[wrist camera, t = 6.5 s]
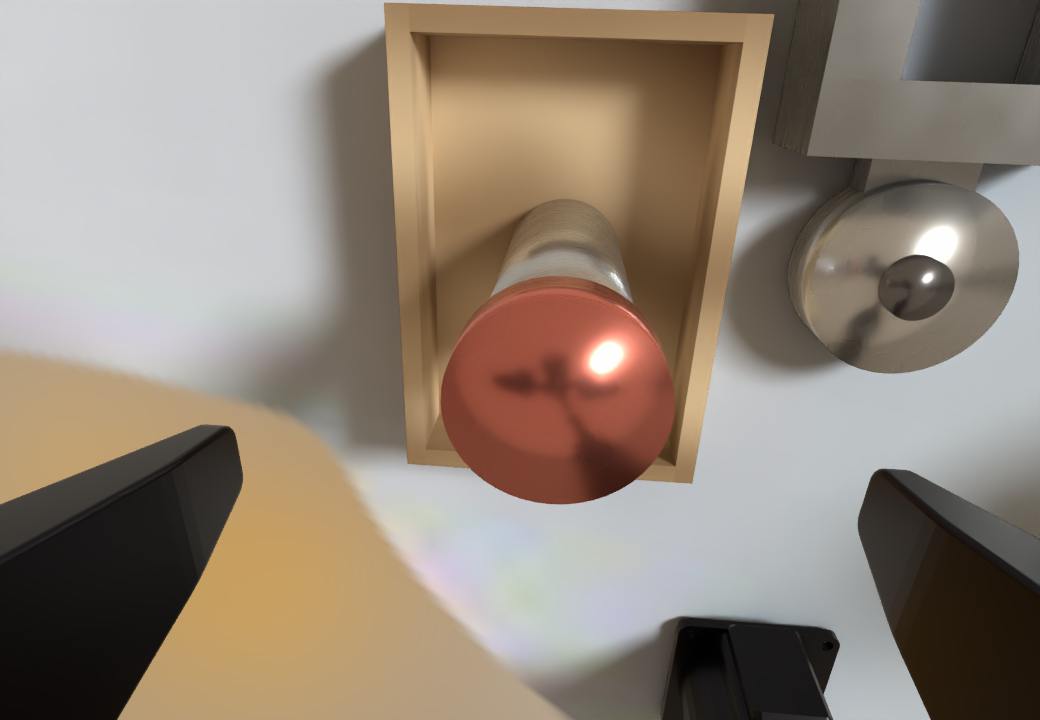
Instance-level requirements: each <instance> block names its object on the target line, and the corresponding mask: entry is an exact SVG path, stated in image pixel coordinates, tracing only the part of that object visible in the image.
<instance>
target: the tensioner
mask: <svg viewBox="0 0 1040 720" xmlns="http://www.w3.org/2000/svg"><path fill="white" fill-rule="evenodd" d="M920 4H921V0H800V1H799V6H798V12H797V17H796V22H795V27H794V33H793V38H792V43H791V49H790V54H789V59H788V65H787V70H786V75H785V80H784V86H783V91H782V96H781V102H780V107H779V112H778V118H777V123H776V128H775V133H774V139H773V143H774V144H777V145H779V146H782V147H785V148H787V149H790V150H793V151H795V152H798V153H800V154H803V155H806V156H821V157H846V158H857V161H856V165H855V169H854V173H853V177H852V181H851V185H850V187H848V188H846V189H844V190H843V191H841V192H840V193H838V194H837V195H835V196H834V197H832V198H831V199H830V200H828V201H827V202H826V203H825V204H824V205H823V206H821V207H820V208H819V209H818V211H817V212H816V213H815V214H814V215H813V216H812V217H811V218H810V220H809V221H808V222H807V224H806V225H805V226H804V228H803V229H802V231H801V233H800V235H799V236H798V238H797V240H796V243H795V245H794V247H793V250H792V253H791V257H790V261H789V267H788V288H789V294H790V298H791V301H792V304H793V306H794V308H795V310H796V312H797V314H798V315H799V317H800V318H801V320H802V321H803V322H804V323H805V324H806V325H807V326H808V328H809V329H810V330H811V331H812V332H813V333H814V334H815V335H816V336H817V337H818V339H819V340H820V341H821V342H822V343H823V344H824V345H825V346H826V347H827V348H828V349H829V350H830V352H831V353H833V354H834V355H835V356H837V357H838V358H839V359H841V360H842V361H844V362H846V363H848V364H849V365H852V366H854V367H857V368H859V369H863V370H867V371H871V372H878V373H905V372H912V371H917V370H921V369H925V368H928V367H931V366H934V365H937V364H939V363H941V362H944V361H946V360H948V359H950V358H952V357H954V356H955V355H957V354H959V353H961V352H962V351H964V350H965V349H966V348H968V347H969V346H971V345H972V344H973V343H974V342H976V341H977V340H978V339H979V338H980V337H981V336H983V335H984V334H985V332H986V331H987V330H988V329H989V328H990V327H991V326H992V325H993V324H994V322H995V321H996V320H997V319H998V317H999V316H1000V315H1001V313H1002V311H1003V310H1004V308H1005V306H1006V305H1007V303H1008V301H1009V299H1010V296H1011V294H1012V292H1013V289H1014V286H1015V283H1016V279H1017V275H1018V268H1019V250H1018V243H1017V239H1016V236H1015V233H1014V230H1013V228H1012V226H1011V224H1010V222H1009V220H1008V219H1007V217H1006V216H1005V215H1004V214H1003V212H1002V211H1001V210H1000V209H999V208H998V207H997V206H996V205H995V204H994V203H992V202H991V201H990V200H988V199H987V198H985V197H983V196H982V195H980V194H978V193H975V190H976V186H977V183H978V180H979V177H980V174H981V171H982V168H983V165H984V163H991V164H1015V165H1039V166H1040V5H1039V8H1038V11H1037V14H1036V18H1035V21H1034V24H1033V27H1032V30H1031V33H1030V36H1029V39H1028V42H1027V45H1026V48H1025V51H1024V54H1023V57H1022V60H1021V63H1020V66H1019V69H1018V72H1017V75H1016V78H1015V82H1014V84H1005V83H976V82H947V81H918V80H901V77H902V73H903V69H904V66H905V62H906V58H907V54H908V50H909V46H910V42H911V38H912V35H913V31H914V27H915V23H916V19H917V15H918V11H919V8H920Z"/></svg>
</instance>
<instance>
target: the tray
mask: <svg viewBox="0 0 1040 720" xmlns="http://www.w3.org/2000/svg"><path fill="white" fill-rule="evenodd" d="M384 12H385V32H386V51H387V71H388V90H389V110H390V129H391V149H392V168H393V188H394V207H395V227H396V246H397V266H398V285H399V305H400V324H401V344H402V363H403V382H404V402H405V421H406V441H407V460H408V464H418V465H432V466H447V467H461V468H469V467H468V466H467V465H466V464H465V462H464V461H463V460H462V459H461V457H460V456H459V455H458V453H457V452H456V450H455V448H454V447H453V445H452V443H451V441H450V439H449V437H448V434H447V432H446V429H445V426H444V422H443V418H442V413H441V403H440V400H441V386H442V381H443V376H444V373H445V370H446V368H447V365H448V362H449V360H450V357H451V355H452V353H453V350H454V348H455V345H456V343H457V341H458V338H459V336H460V334H461V332H462V330H463V328H464V326H465V325H466V323H467V322H468V320H469V319H470V318H471V316H472V315H473V313H474V312H475V311H476V310H477V309H478V308H479V307H480V306H481V305H482V304H483V303H484V302H486V301H487V300H488V299H489V298H490V297H491V295H492V292H493V289H494V286H495V284H496V281H497V278H498V275H499V272H500V270H501V267H502V264H503V261H504V258H505V256H506V253H507V250H508V247H509V245H510V242H511V239H512V236H513V234H514V231H515V229H516V227H517V225H518V224H519V222H520V221H521V219H522V218H523V217H524V216H525V215H526V214H527V213H528V212H529V211H531V210H532V209H533V208H535V207H537V206H538V205H540V204H542V203H545V202H548V201H551V200H556V199H574V200H578V201H582V202H584V203H587V204H589V205H591V206H593V207H595V208H596V209H597V210H599V211H600V212H601V213H602V214H603V215H604V216H605V217H606V218H607V219H608V221H609V222H610V224H611V225H612V227H613V229H614V231H615V234H616V237H617V241H618V245H619V249H620V253H621V257H622V261H623V265H624V268H625V272H626V276H627V280H628V284H629V288H630V292H631V296H632V300H633V304H634V305H635V306H636V307H637V308H638V309H639V310H640V311H641V312H642V313H643V314H644V316H645V317H646V318H647V320H648V321H649V322H650V324H651V325H652V327H653V329H654V331H655V332H656V334H657V336H658V339H659V341H660V344H661V346H662V350H663V353H664V356H665V359H666V362H667V366H668V369H669V372H670V375H671V379H672V383H673V388H674V397H675V409H674V419H673V423H672V427H671V431H670V434H669V436H668V439H667V441H666V443H665V445H664V447H663V449H662V450H661V452H660V454H659V455H658V457H657V458H656V459H655V461H654V462H653V463H652V465H651V466H650V467H649V468H648V469H647V470H646V471H645V472H644V473H643V474H642V475H640V476H639V477H638V478H637V479H635V480H648V481H663V482H677V483H691V484H692V481H693V476H694V470H695V464H696V459H697V453H698V447H699V441H700V436H701V430H702V424H703V419H704V413H705V407H706V402H707V396H708V390H709V385H710V379H711V373H712V367H713V362H714V356H715V350H716V345H717V339H718V333H719V328H720V322H721V316H722V311H723V305H724V299H725V293H726V288H727V282H728V276H729V271H730V265H731V259H732V254H733V248H734V242H735V237H736V231H737V225H738V219H739V214H740V208H741V202H742V197H743V191H744V185H745V180H746V174H747V168H748V162H749V157H750V151H751V145H752V140H753V134H754V128H755V123H756V117H757V111H758V106H759V100H760V94H761V88H762V83H763V77H764V71H765V66H766V60H767V54H768V49H769V43H770V37H771V32H772V26H773V20H774V14H751V13H717V12H683V11H649V10H615V9H581V8H547V7H513V6H479V5H445V4H411V3H384Z"/></svg>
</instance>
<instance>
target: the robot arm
mask: <svg viewBox="0 0 1040 720" xmlns="http://www.w3.org/2000/svg"><path fill="white" fill-rule="evenodd" d="M242 482H243V472H242V466H241V462H240V456H239V451H238V445H237V440H236V436H235V433H234V431H233V430H232V429H231V428H230V427H228V426H219V425H200V426H197V427H194V428H192V429H189V430H187V431H184V432H182V433H179V434H177V435H174V436H172V437H169V438H167V439H164V440H161V441H159V442H157V443H154V444H152V445H149V446H146V447H144V448H141V449H139V450H136V451H134V452H131V453H129V454H126V455H124V456H121V457H119V458H116V459H114V460H111V461H109V462H106V463H104V464H101V465H99V466H96V467H94V468H91V469H89V470H86V471H83V472H81V473H78V474H76V475H73V476H71V477H68V478H66V479H63V480H61V481H58V482H56V483H53V484H51V485H48V486H46V487H43V488H41V489H38V490H36V491H33V492H31V493H28V494H26V495H23V496H21V497H18V498H15V499H13V500H10V501H8V502H5V503H3V504H0V720H117V719H118V717H119V716H120V714H121V712H122V711H123V709H124V707H125V706H126V704H127V702H128V701H129V699H130V697H131V695H132V694H133V692H134V690H135V689H136V687H137V685H138V684H139V682H140V680H141V679H142V677H143V675H144V673H145V672H146V670H147V669H148V667H149V665H150V663H151V662H152V660H153V658H154V657H155V655H156V653H157V652H158V650H159V648H160V647H161V645H162V643H163V641H164V640H165V638H166V636H167V635H168V633H169V631H170V629H171V628H172V626H173V624H174V623H175V621H176V619H177V618H178V616H179V614H180V613H181V611H182V609H183V608H184V606H185V604H186V603H187V601H188V599H189V598H190V596H191V594H192V592H193V591H194V589H195V587H196V585H197V583H198V582H199V580H200V578H201V576H202V574H203V571H204V570H205V568H206V566H207V563H208V561H209V559H210V557H211V555H212V552H213V550H214V548H215V546H216V544H217V541H218V539H219V537H220V535H221V533H222V531H223V528H224V526H225V524H226V522H227V519H228V517H229V515H230V513H231V511H232V509H233V506H234V504H235V502H236V500H237V498H238V495H239V493H240V491H241V487H242ZM858 532H859V536H860V539H861V542H862V545H863V548H864V551H865V554H866V557H867V560H868V563H869V567H870V570H871V573H872V576H873V579H874V582H875V585H876V588H877V591H878V594H879V597H880V600H881V603H882V606H883V609H884V612H885V615H886V618H887V621H888V623H889V626H890V629H891V632H892V634H893V637H894V639H895V641H896V644H897V646H898V648H899V651H900V653H901V655H902V658H903V660H904V662H905V664H906V666H907V668H908V671H909V673H910V675H911V677H912V679H913V682H914V684H915V686H916V688H917V690H918V693H919V695H920V697H921V699H922V701H923V704H924V706H925V708H926V710H927V712H928V714H929V717H930V719H931V720H1040V539H1038V538H1036V537H1034V536H1032V535H1030V534H1028V533H1027V532H1025V531H1023V530H1021V529H1019V528H1017V527H1015V526H1013V525H1011V524H1010V523H1008V522H1006V521H1004V520H1002V519H1000V518H998V517H996V516H994V515H993V514H991V513H989V512H987V511H985V510H983V509H981V508H979V507H977V506H976V505H974V504H972V503H970V502H968V501H966V500H964V499H962V498H961V497H959V496H957V495H955V494H953V493H951V492H949V491H947V490H945V489H944V488H942V487H940V486H938V485H936V484H934V483H932V482H930V481H928V480H927V479H925V478H923V477H921V476H919V475H917V474H915V473H913V472H911V471H907V470H896V469H879V470H877V471H875V472H874V474H873V475H872V477H871V479H870V482H869V485H868V488H867V491H866V495H865V498H864V501H863V504H862V507H861V510H860V513H859V517H858ZM689 630H692V631H690V632H687V631H689ZM839 647H840V643H839V641H838V639H837V637H836V635H835V633H834V632H833V631H831V630H827V629H816V628H804V627H791V626H779V625H767V624H754V623H742V622H730V621H717V620H705V619H693V618H688V619H684V620H681V621H680V622H679V623H678V625H677V628H676V633H675V639H674V644H673V650H672V655H671V661H670V666H669V671H668V677H667V682H666V688H665V693H664V698H663V704H662V709H661V720H833V718H832V715H831V713H830V710H829V708H828V705H827V703H826V700H825V698H824V692H825V689H826V686H827V683H828V680H829V677H830V674H831V671H832V668H833V665H834V662H835V659H836V656H837V653H838V650H839Z"/></svg>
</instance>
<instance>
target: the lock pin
mask: <svg viewBox="0 0 1040 720" xmlns="http://www.w3.org/2000/svg"><path fill="white" fill-rule="evenodd" d="M440 403H441V413H442V418H443V422H444V426H445V429H446V432H447V434H448V437H449V439H450V441H451V443H452V445H453V447H454V448H455V450H456V452H457V453H458V455H459V456H460V457H461V459H462V460H463V461H464V462H465V464H466V465H467V466H468V467H469V468H470V469H471V470H472V471H473V472H474V473H476V474H477V475H478V476H479V477H481V478H482V479H483V480H484V481H486V482H487V483H489V484H490V485H492V486H494V487H495V488H497V489H499V490H501V491H503V492H505V493H507V494H510V495H512V496H515V497H518V498H521V499H524V500H529V501H533V502H538V503H546V504H573V503H581V502H586V501H591V500H595V499H598V498H601V497H604V496H607V495H609V494H611V493H614V492H616V491H618V490H620V489H622V488H623V487H625V486H627V485H628V484H630V483H631V482H633V481H634V480H635V479H637V478H638V477H639V476H640V475H642V474H643V473H644V472H645V471H646V470H647V469H648V468H649V467H650V466H651V465H652V463H653V462H654V461H655V459H656V458H657V457H658V455H659V454H660V452H661V450H662V449H663V447H664V445H665V443H666V441H667V439H668V436H669V434H670V431H671V427H672V423H673V419H674V409H675V397H674V388H673V383H672V379H671V375H670V372H669V369H668V366H667V362H666V359H665V356H664V353H663V350H662V346H661V344H660V341H659V339H658V336H657V334H656V332H655V331H654V329H653V327H652V325H651V324H650V322H649V321H648V320H647V318H646V317H645V316H644V314H643V313H642V312H641V311H640V310H639V309H638V308H637V307H636V306H635V305H634V304H633V300H632V296H631V292H630V288H629V284H628V280H627V276H626V272H625V268H624V265H623V261H622V257H621V253H620V249H619V245H618V241H617V237H616V234H615V231H614V229H613V227H612V225H611V224H610V222H609V221H608V219H607V218H606V217H605V216H604V215H603V214H602V213H601V212H600V211H599V210H597V209H596V208H595V207H593V206H591V205H589V204H587V203H584V202H582V201H578V200H574V199H556V200H551V201H548V202H545V203H542V204H540V205H538V206H537V207H535V208H533V209H532V210H531V211H529V212H528V213H527V214H526V215H525V216H524V217H523V218H522V219H521V221H520V222H519V224H518V225H517V227H516V229H515V231H514V234H513V236H512V239H511V242H510V245H509V247H508V250H507V253H506V256H505V258H504V261H503V264H502V267H501V270H500V272H499V275H498V278H497V281H496V284H495V286H494V289H493V292H492V295H491V297H490V298H489V299H488V300H487V301H486V302H484V303H483V304H482V305H481V306H480V307H479V308H478V309H477V310H476V311H475V312H474V313H473V315H472V316H471V318H470V319H469V320H468V322H467V323H466V325H465V326H464V328H463V330H462V332H461V334H460V336H459V338H458V341H457V343H456V345H455V348H454V350H453V353H452V355H451V357H450V360H449V362H448V365H447V368H446V370H445V373H444V376H443V381H442V386H441V400H440Z"/></svg>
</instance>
